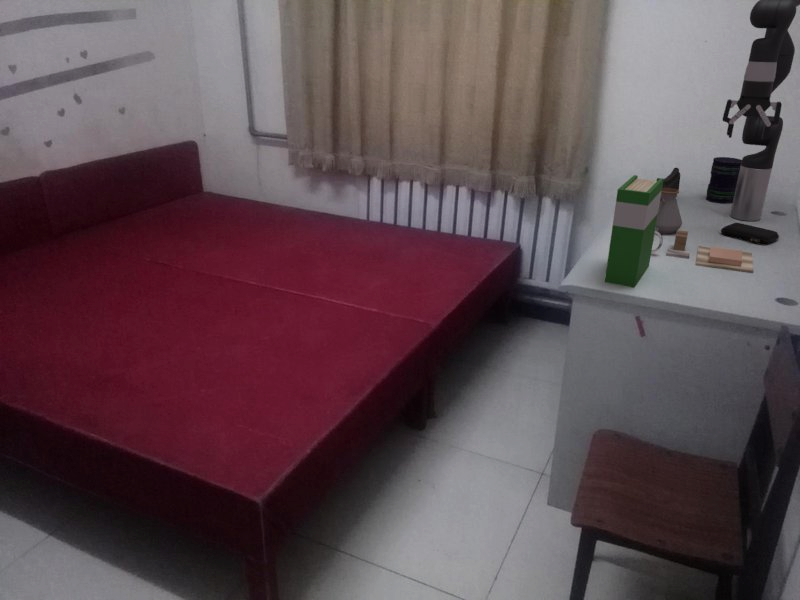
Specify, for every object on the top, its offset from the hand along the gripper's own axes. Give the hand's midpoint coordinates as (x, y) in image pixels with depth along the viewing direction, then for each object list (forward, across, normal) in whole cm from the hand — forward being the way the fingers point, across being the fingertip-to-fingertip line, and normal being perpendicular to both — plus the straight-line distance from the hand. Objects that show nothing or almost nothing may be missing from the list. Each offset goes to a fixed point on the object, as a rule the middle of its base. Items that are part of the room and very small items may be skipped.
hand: (746, 138), depth 187 cm
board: (+30, 0, +21) cm, 37 cm away
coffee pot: (+30, +19, +4) cm, 36 cm away
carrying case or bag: (+31, -6, -4) cm, 32 cm away
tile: (+28, 0, +18) cm, 34 cm away
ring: (+30, +20, +25) cm, 44 cm away
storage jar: (+30, +2, -49) cm, 58 cm away
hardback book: (+30, +23, +44) cm, 58 cm away
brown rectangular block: (+30, +12, +19) cm, 38 cm away
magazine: (+30, +21, -35) cm, 51 cm away
